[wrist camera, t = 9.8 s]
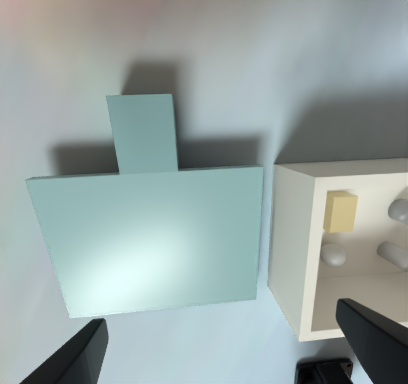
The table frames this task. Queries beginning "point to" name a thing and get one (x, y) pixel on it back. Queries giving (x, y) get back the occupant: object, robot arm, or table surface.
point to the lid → (150, 222)
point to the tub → (338, 241)
